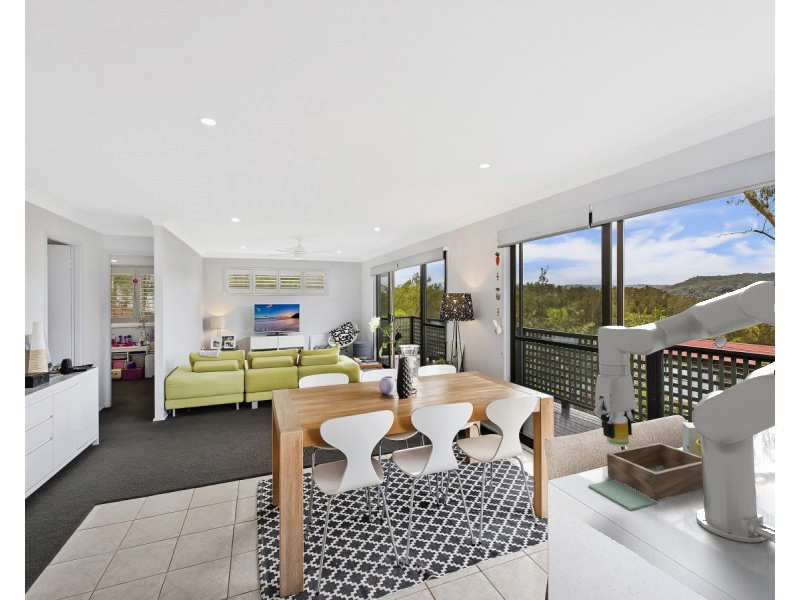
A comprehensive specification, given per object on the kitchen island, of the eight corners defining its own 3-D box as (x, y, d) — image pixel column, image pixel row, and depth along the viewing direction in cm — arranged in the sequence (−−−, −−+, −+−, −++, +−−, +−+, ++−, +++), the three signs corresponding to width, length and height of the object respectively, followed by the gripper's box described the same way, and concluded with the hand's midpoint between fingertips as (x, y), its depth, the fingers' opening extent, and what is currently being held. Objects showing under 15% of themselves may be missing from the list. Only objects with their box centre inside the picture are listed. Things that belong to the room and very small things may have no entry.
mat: (656, 503, 102) (656, 501, 102) (630, 510, 99) (630, 508, 99) (612, 481, 115) (612, 479, 115) (588, 486, 112) (588, 485, 112)
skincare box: (682, 457, 130) (680, 421, 130) (698, 458, 128) (696, 422, 128) (689, 465, 124) (687, 427, 124) (705, 466, 122) (703, 428, 122)
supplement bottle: (633, 446, 105) (631, 411, 105) (613, 447, 105) (611, 411, 105) (622, 439, 110) (620, 405, 110) (603, 440, 110) (601, 406, 110)
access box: (713, 485, 110) (712, 460, 110) (657, 500, 103) (655, 474, 103) (660, 464, 125) (659, 442, 125) (607, 476, 118) (606, 453, 118)
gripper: (626, 365, 114) (629, 427, 113) (579, 371, 108) (582, 435, 108) (649, 369, 107) (653, 435, 106) (601, 375, 101) (604, 444, 101)
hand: (617, 434), depth 107 cm, fingers closed on supplement bottle, 5 cm apart
